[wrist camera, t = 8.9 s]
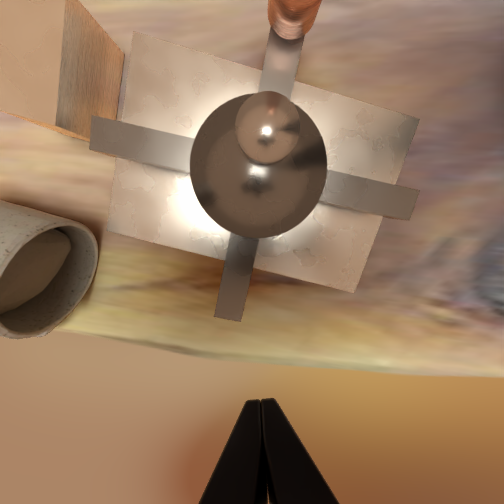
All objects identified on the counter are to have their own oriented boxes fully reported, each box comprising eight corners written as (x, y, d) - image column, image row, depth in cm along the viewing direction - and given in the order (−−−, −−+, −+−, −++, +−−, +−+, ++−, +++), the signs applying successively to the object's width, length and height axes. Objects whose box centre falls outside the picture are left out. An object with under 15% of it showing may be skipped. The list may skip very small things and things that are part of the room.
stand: (399, 128, 17) (462, 98, 12) (343, 283, 19) (376, 312, 14) (59, 25, 15) (-33, -59, 10) (44, 208, 18) (-35, 210, 13)
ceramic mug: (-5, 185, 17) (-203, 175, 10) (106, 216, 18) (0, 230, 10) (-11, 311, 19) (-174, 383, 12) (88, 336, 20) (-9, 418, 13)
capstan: (351, 328, 16) (388, 374, 12) (100, 280, 15) (43, 310, 11) (445, 47, 13) (544, -30, 8) (127, -38, 12) (58, -173, 7)
